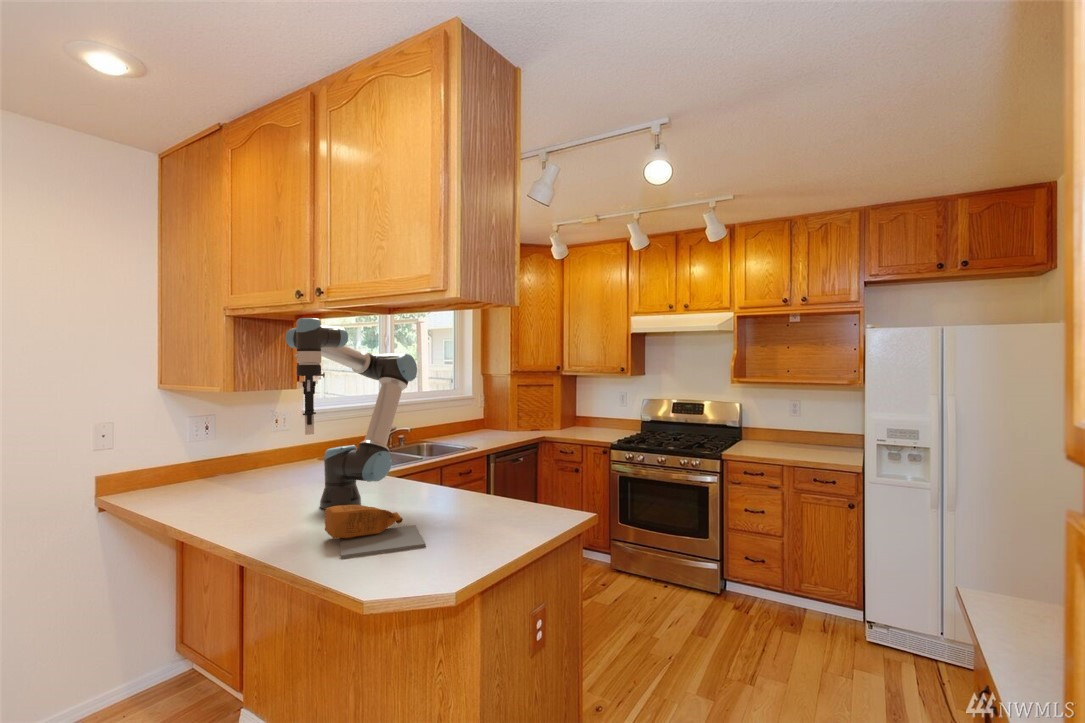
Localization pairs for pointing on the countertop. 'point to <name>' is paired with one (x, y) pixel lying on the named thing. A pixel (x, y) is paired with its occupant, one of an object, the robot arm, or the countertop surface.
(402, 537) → the topple mat
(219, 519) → the countertop surface
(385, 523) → the coffee package
